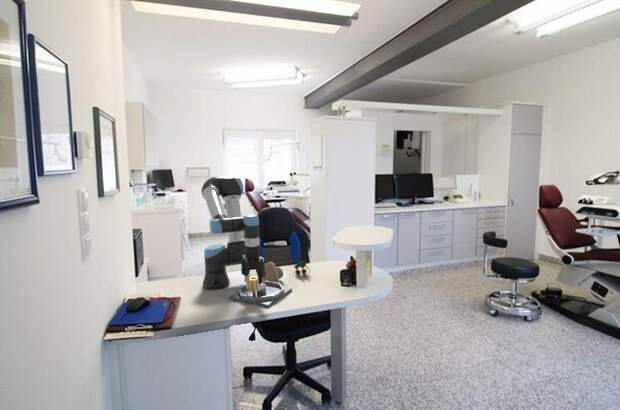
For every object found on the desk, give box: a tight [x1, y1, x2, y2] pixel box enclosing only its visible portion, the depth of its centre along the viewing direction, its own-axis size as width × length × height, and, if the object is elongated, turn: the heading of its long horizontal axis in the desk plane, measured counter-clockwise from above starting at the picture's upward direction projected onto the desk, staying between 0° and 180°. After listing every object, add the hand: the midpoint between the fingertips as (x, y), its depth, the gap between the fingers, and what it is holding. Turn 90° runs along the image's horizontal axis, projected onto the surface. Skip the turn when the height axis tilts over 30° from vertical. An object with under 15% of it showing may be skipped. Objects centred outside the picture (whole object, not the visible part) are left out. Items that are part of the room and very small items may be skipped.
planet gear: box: [247, 275, 258, 292], centre depth 173 cm, size 6×6×6 cm
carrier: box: [228, 280, 293, 308], centre depth 179 cm, size 24×24×6 cm
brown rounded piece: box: [262, 261, 284, 283], centre depth 202 cm, size 13×8×15 cm
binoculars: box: [293, 260, 311, 278], centre depth 209 cm, size 9×9×10 cm
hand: (253, 288), depth 173 cm, fingers closed on planet gear, 6 cm apart
